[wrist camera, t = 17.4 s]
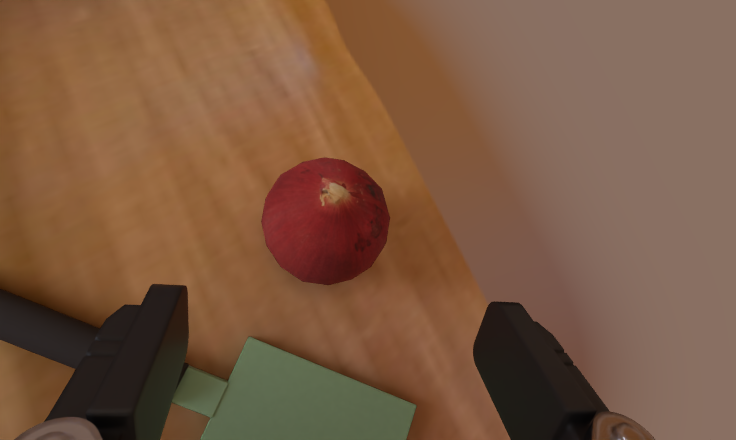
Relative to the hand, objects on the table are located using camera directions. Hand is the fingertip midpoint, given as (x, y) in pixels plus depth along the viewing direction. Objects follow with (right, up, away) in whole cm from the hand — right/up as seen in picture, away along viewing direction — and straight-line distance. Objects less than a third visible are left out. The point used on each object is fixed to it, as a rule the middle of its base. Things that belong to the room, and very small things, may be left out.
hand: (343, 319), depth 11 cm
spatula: (-8, -5, +9) cm, 13 cm away
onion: (-2, +1, +12) cm, 12 cm away
